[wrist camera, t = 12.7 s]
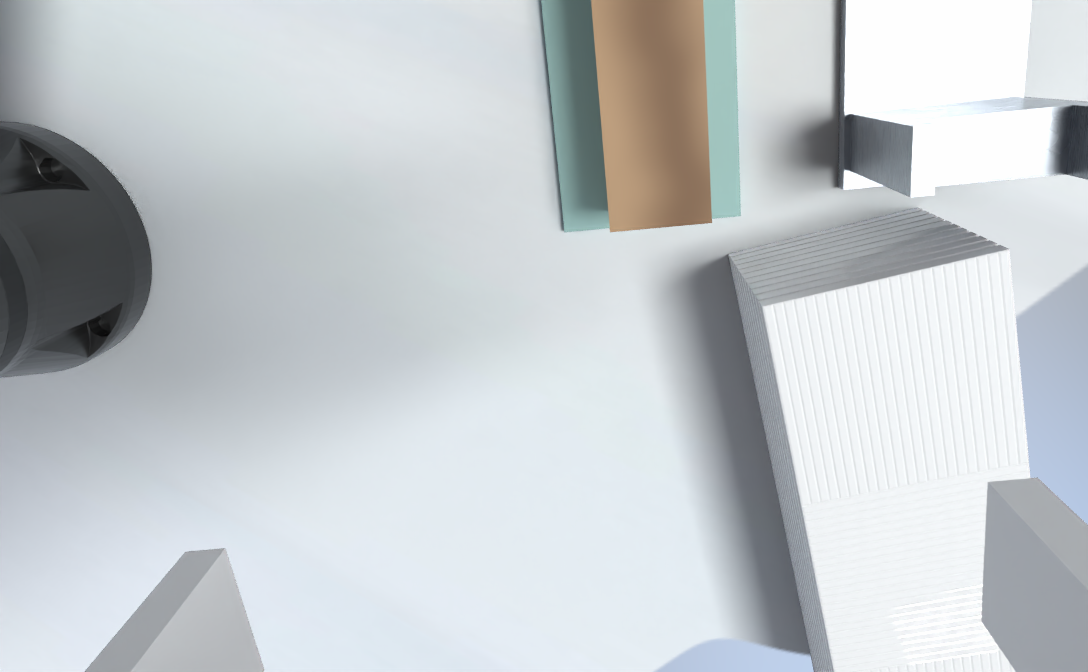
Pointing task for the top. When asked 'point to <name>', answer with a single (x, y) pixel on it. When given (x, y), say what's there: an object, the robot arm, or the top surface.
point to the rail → (653, 112)
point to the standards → (947, 98)
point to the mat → (582, 120)
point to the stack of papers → (887, 431)
